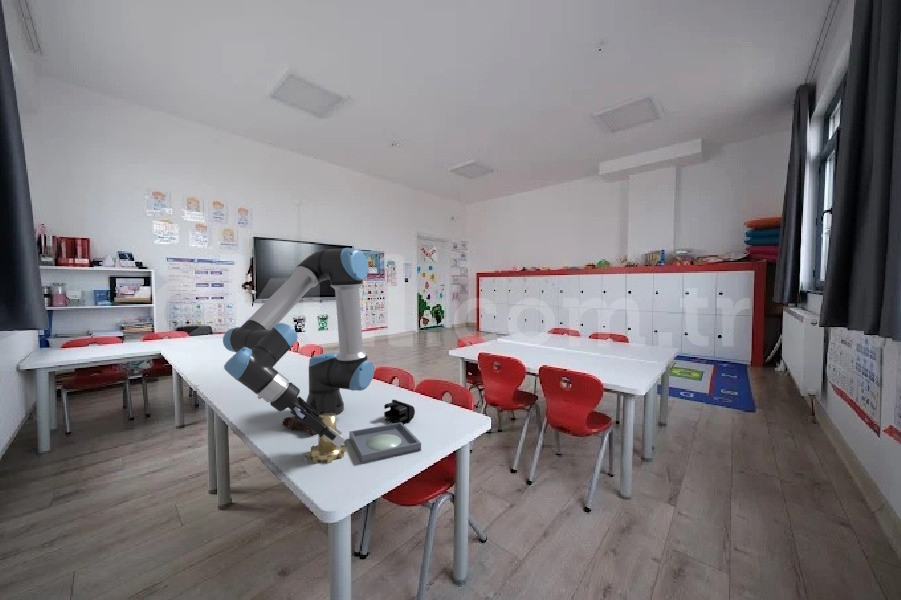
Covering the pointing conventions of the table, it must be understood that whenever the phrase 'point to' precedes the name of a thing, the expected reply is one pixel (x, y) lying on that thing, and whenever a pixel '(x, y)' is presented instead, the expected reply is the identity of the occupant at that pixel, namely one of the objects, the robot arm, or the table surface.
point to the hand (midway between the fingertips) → (340, 439)
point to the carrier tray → (383, 442)
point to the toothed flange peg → (326, 443)
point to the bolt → (297, 425)
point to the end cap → (399, 412)
